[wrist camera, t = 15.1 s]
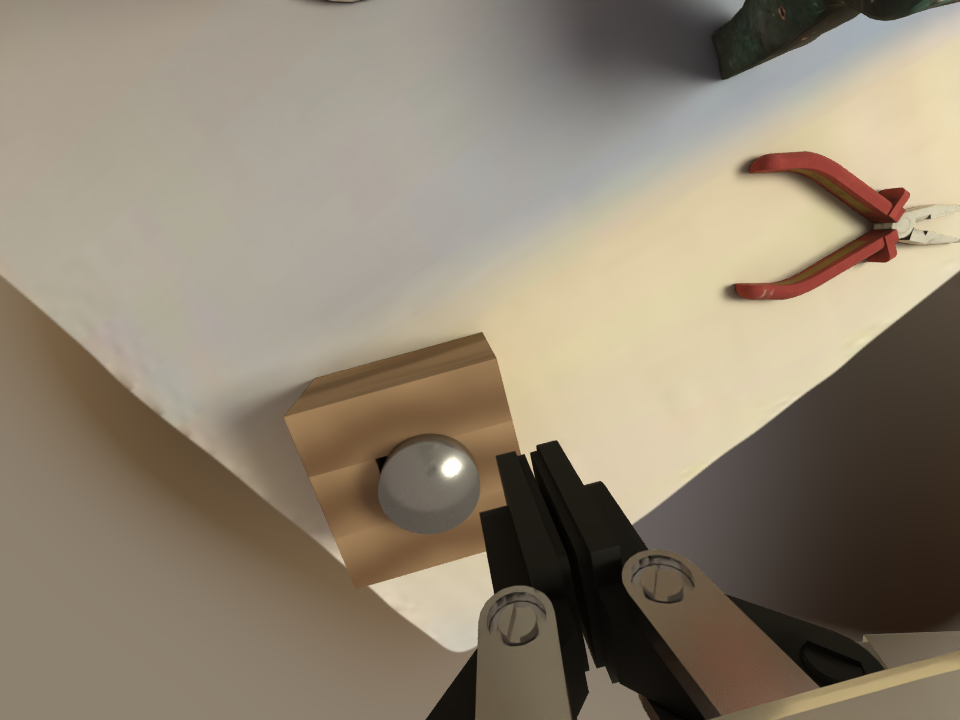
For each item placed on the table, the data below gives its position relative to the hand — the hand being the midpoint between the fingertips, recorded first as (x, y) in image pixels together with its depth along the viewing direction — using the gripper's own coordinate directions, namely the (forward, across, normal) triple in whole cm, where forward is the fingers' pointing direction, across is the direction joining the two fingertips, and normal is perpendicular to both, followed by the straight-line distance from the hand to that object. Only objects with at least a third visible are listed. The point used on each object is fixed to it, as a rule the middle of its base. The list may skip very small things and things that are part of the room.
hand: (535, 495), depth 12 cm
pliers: (+26, -32, +2) cm, 41 cm away
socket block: (+25, +6, +10) cm, 27 cm away
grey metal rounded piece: (+24, +5, +10) cm, 26 cm away
